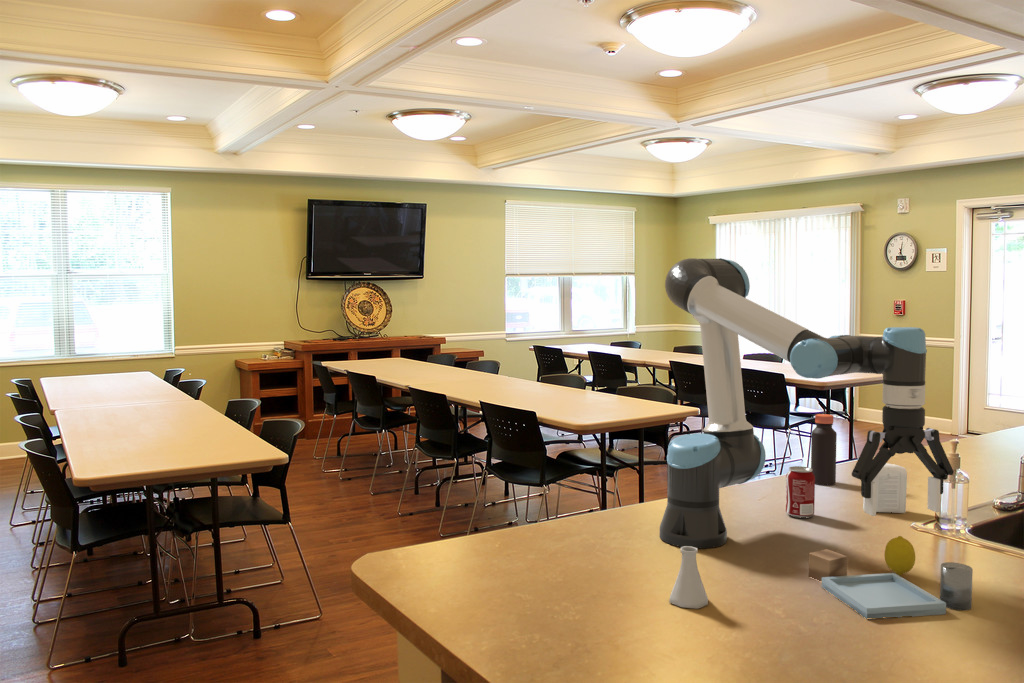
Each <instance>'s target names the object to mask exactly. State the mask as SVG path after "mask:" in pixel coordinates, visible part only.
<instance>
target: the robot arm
mask: <svg viewBox="0 0 1024 683" xmlns="http://www.w3.org/2000/svg"><path fill="white" fill-rule="evenodd" d="M750 287H751V285H750V279H749V276H748V273H747V272H746V270H745V269H744V268H743V266H741V264H740V263H738V262H737V261H734V260H730V259H726V258H696V257H695V258H690V257H689V258H684V259H681V260H680V261H678V262H676V263H675V264H673V265H672V266H671V268H670V269H669V270H668V271H667V274H666V277H665V282H664V288H665V292H666V295H667V297H668V298H669V300H670V301H671V302H672V303H673V305H675V306H676V307H678V308H680V309H681V310H683V311H684V312H687V313H688V314H690V315H692V318H694V320H696V321H697V322H698V323H699V325H700V338H701V339H700V340H701V349H702V350H701V351H702V358H703V370H704V382H705V383H704V384H705V390H706V392H705V393H706V402H707V413H708V414H707V415H708V423H707V424H706V425H705V427H704V428H703V429H702V430H703V433H699V432H698V433H693V434H690V433H688V434H683V435H679V436H676V437H673V439H672V440H670V442H669V444H668V445H667V446H668V448H667V455H666V461H667V462H666V465H667V467H666V470H667V471H666V472H667V473H666V475H667V476H666V479H667V480H666V482H667V485H666V486H667V488H666V489H667V491H666V494H667V495H666V496H667V502H666V507H665V510H664V513H663V516H662V519H661V522H660V525H659V538H660V540H662V541H663V542H665V543H666V544H669V545H672V546H675V547H680V548H681V547H684V546H691V547H695V548H698V549H711V548H717V547H720V546H722V545H724V544H726V543H727V541H728V531H727V527H726V523H725V521H724V517H723V514H722V511H721V507H720V489H722V488H726V487H730V486H735V485H741V484H744V483H747V482H749V481H751V480H754V479H755V478H756V477H758V476H759V475H760V474H761V473H762V471H763V469H764V466H765V464H766V449H765V446H764V444H763V442H762V441H760V438H759V437H758V436H757V435H756V434H755V433H754V432H755V431H754V425H752V424H751V423H750V422H749V421H747V416H746V409H745V408H746V407H745V398H744V397H745V396H744V387H743V376H742V375H743V374H742V364H741V354H740V342H739V336H740V337H741V338H742V337H743V338H744V339H746V340H748V341H750V342H752V343H754V344H755V345H756V346H759V347H760V348H763V349H765V350H766V351H768V352H770V353H772V354H774V356H775V355H776V356H778V357H779V358H781V359H782V360H784V361H787V362H789V363H790V365H791V368H792V369H793V370H794V371H795V374H797V375H798V376H801V377H802V378H804V379H823V378H827V377H833V376H841V375H847V374H848V375H849V374H855V373H856V374H857V373H860V374H861V373H862V374H875V375H881V374H882V400H881V401H882V403H883V404H885V405H884V406H883V407H882V413H881V414H882V415H881V416H882V418H881V419H882V421H881V422H882V425H883V429H882V431H881V432H880V431H875V430H872V429H870V430H868V431H867V436H866V441H865V444H864V446H863V448H862V450H861V452H860V454H859V457H858V458H857V461H856V463H855V465H854V468H853V470H852V471H851V476H852V477H853V478H855V479H858V480H860V483H861V486H860V488H861V489H860V490H861V492H860V495H861V497H863V499H864V498H865V511H864V513H866V514H867V515H870V516H871V517H875V516H877V512H876V483H875V482H873V479H874V478H875V477H876V476H877V474H878V473H879V472H880V470H881V469H882V468H883V467H884V465H885V464H886V463H888V461H889V460H890V459H891V458H892V457H894V456H895V455H896V454H899V455H900V454H901V455H902V454H906V453H907V454H915V455H916V457H917V458H918V459H919V460H920V462H921V463H922V464H923V465H924V467H925V468H926V469H927V470H928V472H929V473H930V474H931V476H927V509H928V510H929V511H932V512H934V513H941V512H940V511H941V495H943V493H944V481H946V480H947V479H948V477H949V476H953V474H954V471H955V470H953V469H954V468H953V467H952V464H951V462H950V461H949V458H948V455H947V454H946V451H945V448H944V447H943V444H942V443H941V440H940V430H938V429H935V428H930V427H927V428H925V430H924V426H925V423H926V409H925V408H924V407H923V406H924V405H925V404H926V366H927V365H926V364H927V362H926V360H927V352H928V350H927V345H926V344H927V343H926V341H927V340H926V332H925V331H924V329H923V328H921V327H912V326H909V327H908V326H904V327H903V326H900V327H899V326H898V327H897V326H892V327H891V326H889V327H886V328H885V329H884V330H883V333H882V334H883V335H882V336H863V335H850V334H841V335H831V336H829V337H824V336H822V335H821V334H818V333H817V332H814V331H811V330H809V328H806V327H804V326H802V325H800V324H798V323H796V322H795V321H792V320H790V319H788V318H786V317H784V316H782V315H780V314H778V313H777V312H774V311H772V310H770V309H768V308H767V307H764V306H762V305H761V304H758V303H757V302H754V301H752V300H751V299H748V298H746V297H748V296H749V293H750ZM924 439H925V440H926V443H927V446H928V447H929V449H930V452H931V454H932V456H933V458H932V456H931V455H930V453H928V450H927V448H926V447H925V446H924V444H923V443H922V442H923V441H924ZM883 441H884V442H883ZM882 442H883V443H882ZM880 443H882V444H881V445H880ZM879 446H880V447H879ZM878 449H879V451H878ZM877 451H878V452H877ZM876 453H877V454H876Z"/></svg>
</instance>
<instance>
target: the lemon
mask: <svg viewBox="0 0 1024 683" xmlns="http://www.w3.org/2000/svg"><path fill="white" fill-rule="evenodd" d="M884 562H885V564H886V566H887V567H888V568H889V569H890V570H891V571H892V572H893V573H895V574H897V575H899V576H900V577H902V575H903V574H906V573H909V572H910V571H911V570H912V569H913V568H914V566H915V564H916V551H915V548H914V546H913V544H912V543H911V542H910V541H909V540H908V539H906V538H904V537H903V536H901V535H898V536H895V537H894V538H891V539H890V540H888V542H887V543H886V546H885V549H884Z"/></svg>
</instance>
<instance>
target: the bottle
mask: <svg viewBox="0 0 1024 683" xmlns="http://www.w3.org/2000/svg"><path fill="white" fill-rule="evenodd" d="M814 423H815V425H816V426H815V427H814V429H813V430H812V431H811V439H810V440H811V442H810V443H811V444H810V445H811V450H810V453H811V454H810V455H811V456H810V468H811V469H812V473H813V474H814V476H815V485H819V486H833V485H836V481H837V480H836V479H837V431H835V430H834V428H833V425H834V415H833V414H826V413H817V414H815V418H814Z"/></svg>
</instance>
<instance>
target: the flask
mask: <svg viewBox="0 0 1024 683" xmlns="http://www.w3.org/2000/svg"><path fill="white" fill-rule="evenodd" d="M698 551H699V548H695V547H691V546H684V547H680V553H681V563H680V567H679V568H680V569H679V570H678V573H677V577H676V579H675V583H674V584H673V587H672V590H671V593H670V596H669V601H668V603H669V604H673V605H675V606H678V607H680V608H684V609H685V608H687V609H701V608H703V607H706V606H708V605H709V598H708V594H707V591H706V589H705V586H704V583H703V581H702V578H701V575H700V572H699V569H698V563H697V554H698Z"/></svg>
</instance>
